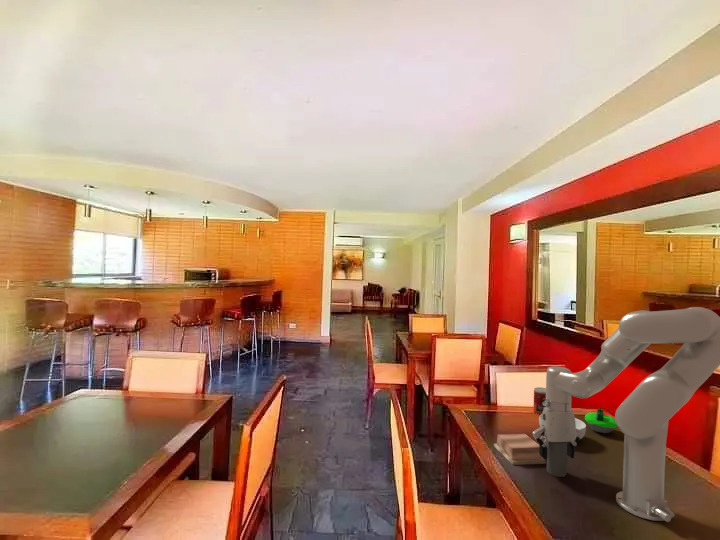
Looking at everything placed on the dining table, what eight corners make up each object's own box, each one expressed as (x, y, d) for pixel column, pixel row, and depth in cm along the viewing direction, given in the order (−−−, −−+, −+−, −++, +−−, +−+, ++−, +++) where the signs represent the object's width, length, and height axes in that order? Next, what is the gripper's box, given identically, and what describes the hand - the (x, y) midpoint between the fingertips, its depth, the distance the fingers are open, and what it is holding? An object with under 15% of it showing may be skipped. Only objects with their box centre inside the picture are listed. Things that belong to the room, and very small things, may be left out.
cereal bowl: (565, 450, 146) (566, 431, 146) (529, 433, 161) (529, 416, 161) (595, 443, 153) (596, 425, 153) (557, 426, 168) (558, 410, 168)
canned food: (536, 415, 180) (536, 391, 180) (531, 409, 188) (532, 386, 188) (553, 417, 179) (554, 393, 179) (548, 410, 187) (549, 387, 187)
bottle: (568, 478, 126) (570, 432, 126) (549, 476, 128) (550, 430, 127) (563, 469, 132) (564, 424, 132) (544, 467, 133) (545, 423, 133)
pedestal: (545, 463, 136) (545, 449, 136) (512, 464, 134) (513, 450, 134) (523, 445, 150) (524, 432, 150) (493, 446, 148) (494, 432, 148)
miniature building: (617, 440, 156) (618, 413, 156) (583, 432, 163) (585, 406, 162) (616, 429, 167) (617, 404, 166) (584, 422, 173) (586, 398, 172)
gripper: (540, 409, 125) (538, 463, 125) (590, 408, 127) (588, 461, 127) (527, 401, 132) (525, 452, 132) (574, 400, 134) (573, 450, 135)
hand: (556, 456), depth 130 cm, fingers open, 9 cm apart
